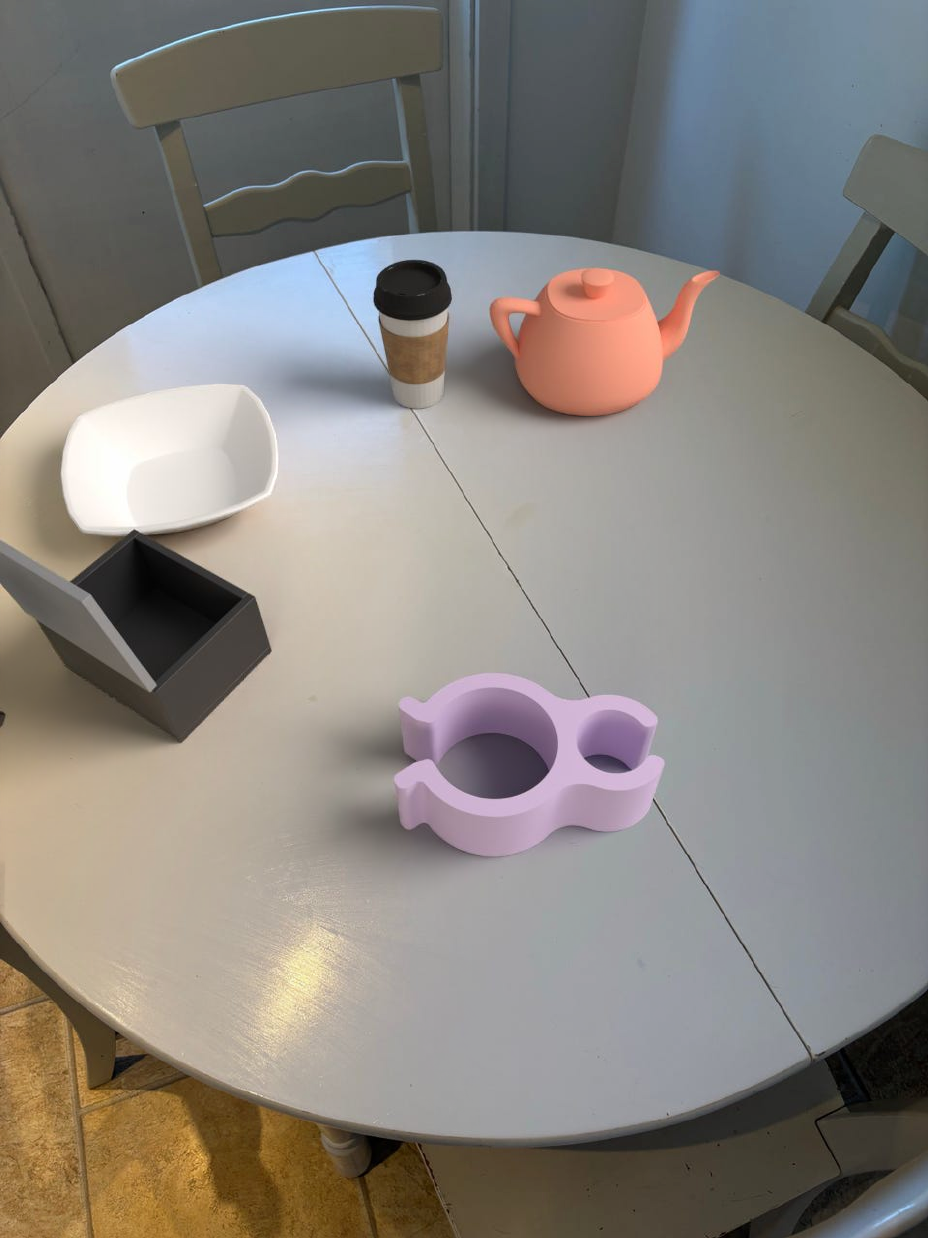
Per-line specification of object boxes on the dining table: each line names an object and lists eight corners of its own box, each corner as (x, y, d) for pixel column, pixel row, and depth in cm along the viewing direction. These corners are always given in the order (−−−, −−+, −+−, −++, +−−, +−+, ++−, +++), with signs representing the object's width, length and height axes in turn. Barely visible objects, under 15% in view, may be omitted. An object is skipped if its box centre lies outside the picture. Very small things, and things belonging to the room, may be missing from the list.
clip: (638, 719, 76) (650, 672, 71) (657, 856, 68) (672, 817, 63) (406, 719, 76) (400, 673, 71) (398, 856, 69) (391, 816, 63)
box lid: (-50, 509, 64) (-59, 516, 63) (90, 594, 59) (81, 602, 58) (32, 605, 74) (25, 612, 74) (157, 685, 69) (150, 693, 69)
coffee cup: (373, 410, 102) (360, 292, 91) (394, 366, 107) (384, 249, 96) (444, 420, 101) (439, 302, 89) (461, 376, 106) (460, 258, 94)
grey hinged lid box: (158, 584, 86) (134, 528, 80) (272, 651, 81) (255, 596, 75) (64, 666, 80) (31, 612, 74) (181, 743, 75) (155, 692, 69)
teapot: (681, 332, 111) (702, 229, 101) (713, 418, 101) (741, 313, 90) (482, 341, 110) (483, 238, 100) (494, 429, 100) (497, 324, 89)
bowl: (300, 539, 90) (292, 502, 86) (80, 586, 86) (60, 549, 82) (268, 409, 103) (260, 371, 99) (76, 445, 99) (58, 407, 95)
